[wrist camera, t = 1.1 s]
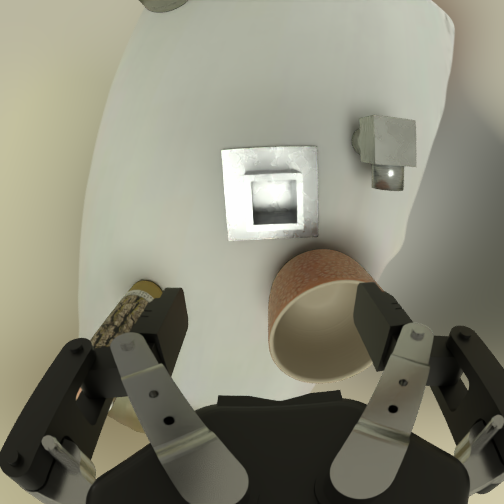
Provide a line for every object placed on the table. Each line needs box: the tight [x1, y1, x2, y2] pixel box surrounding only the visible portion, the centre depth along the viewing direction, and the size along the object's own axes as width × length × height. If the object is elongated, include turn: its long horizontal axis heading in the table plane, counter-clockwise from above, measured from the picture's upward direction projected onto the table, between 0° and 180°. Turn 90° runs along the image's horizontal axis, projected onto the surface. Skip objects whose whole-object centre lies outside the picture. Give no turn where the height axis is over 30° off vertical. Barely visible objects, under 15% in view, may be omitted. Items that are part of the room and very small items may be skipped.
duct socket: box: [221, 146, 318, 241], centre depth 38 cm, size 14×14×8 cm
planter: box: [268, 249, 383, 384], centre depth 40 cm, size 17×17×15 cm
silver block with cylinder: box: [352, 115, 416, 191], centre depth 34 cm, size 9×6×11 cm, turn 3°
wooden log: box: [76, 281, 162, 410], centre depth 37 cm, size 7×7×25 cm
